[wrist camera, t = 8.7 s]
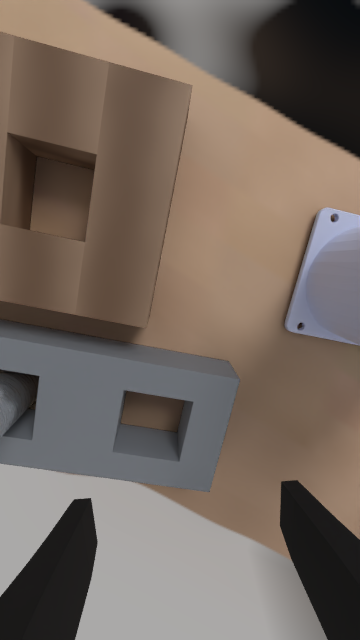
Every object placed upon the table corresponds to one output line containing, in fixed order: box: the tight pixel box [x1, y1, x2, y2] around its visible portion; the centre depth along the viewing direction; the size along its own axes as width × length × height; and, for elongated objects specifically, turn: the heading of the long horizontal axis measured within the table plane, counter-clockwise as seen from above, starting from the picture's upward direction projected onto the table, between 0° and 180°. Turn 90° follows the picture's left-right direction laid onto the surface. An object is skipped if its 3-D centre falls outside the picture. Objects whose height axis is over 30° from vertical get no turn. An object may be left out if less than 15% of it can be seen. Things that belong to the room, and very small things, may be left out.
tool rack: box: [0, 319, 240, 492], centre depth 18 cm, size 18×8×3 cm, turn 78°
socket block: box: [0, 32, 192, 328], centre depth 15 cm, size 12×12×3 cm
